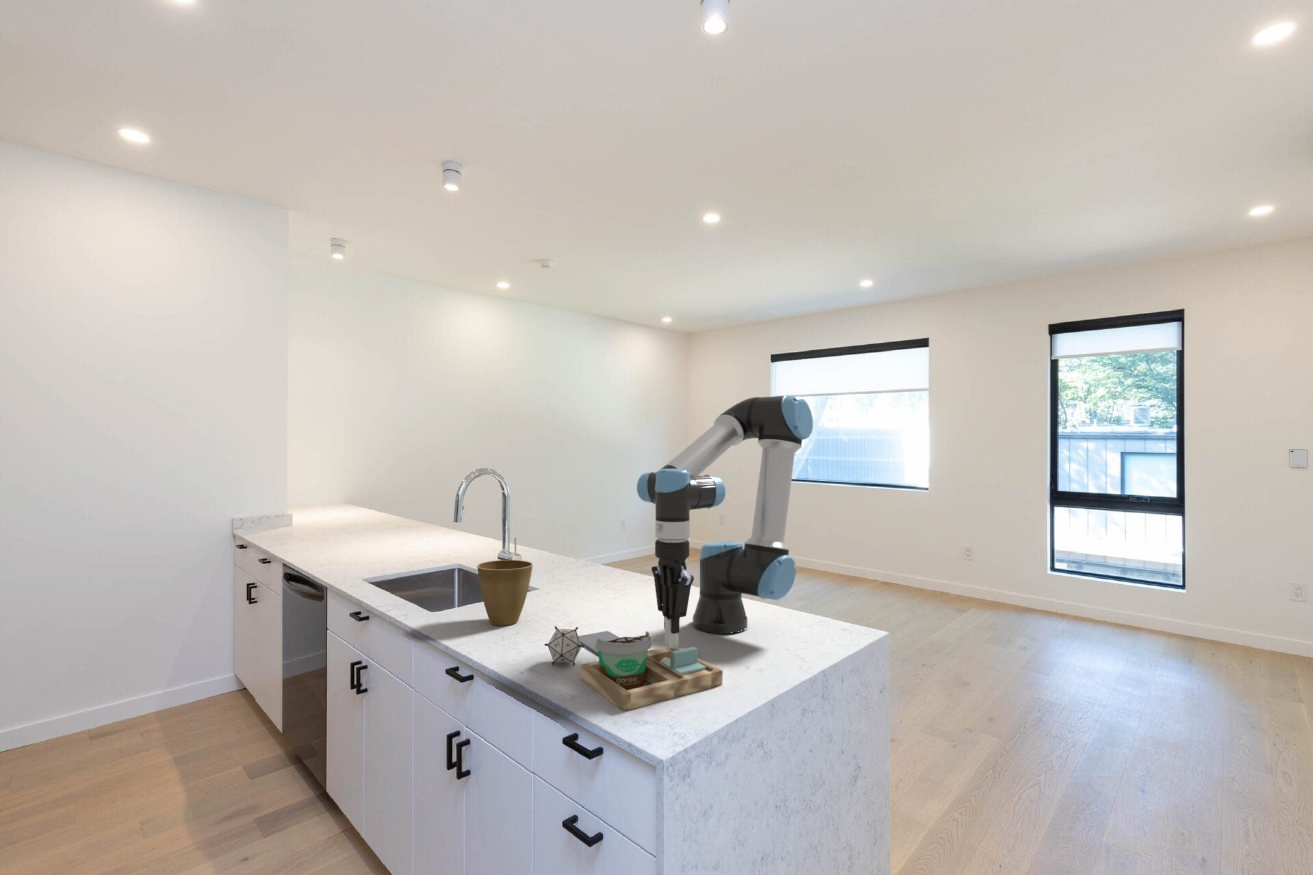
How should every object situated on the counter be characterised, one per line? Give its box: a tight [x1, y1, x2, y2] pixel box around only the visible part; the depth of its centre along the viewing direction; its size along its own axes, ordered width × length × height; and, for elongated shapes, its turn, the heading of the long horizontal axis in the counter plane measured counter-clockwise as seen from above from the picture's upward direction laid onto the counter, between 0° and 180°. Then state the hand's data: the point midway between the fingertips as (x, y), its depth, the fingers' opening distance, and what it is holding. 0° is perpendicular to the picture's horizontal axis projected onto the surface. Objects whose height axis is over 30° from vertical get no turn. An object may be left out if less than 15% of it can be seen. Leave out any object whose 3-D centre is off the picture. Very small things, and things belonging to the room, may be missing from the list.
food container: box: [595, 630, 652, 690], centre depth 124 cm, size 12×6×10 cm, turn 118°
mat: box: [578, 630, 621, 656], centre depth 149 cm, size 10×16×1 cm, turn 34°
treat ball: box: [660, 658, 670, 663], centre depth 133 cm, size 3×3×3 cm
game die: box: [543, 625, 586, 667], centre depth 137 cm, size 9×8×10 cm
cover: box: [662, 646, 706, 675], centre depth 128 cm, size 7×7×4 cm
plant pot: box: [476, 559, 533, 627], centre depth 167 cm, size 15×15×16 cm
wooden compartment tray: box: [580, 646, 724, 712], centre depth 127 cm, size 24×18×4 cm
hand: (671, 646), depth 132 cm, fingers closed
